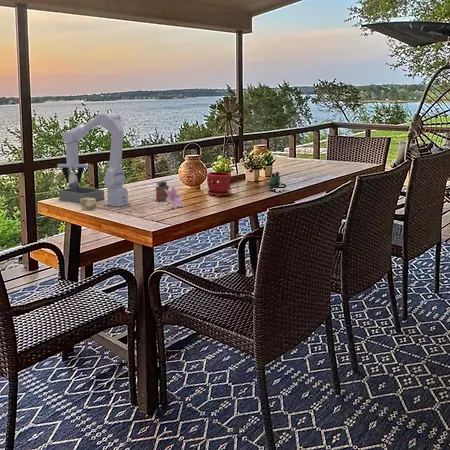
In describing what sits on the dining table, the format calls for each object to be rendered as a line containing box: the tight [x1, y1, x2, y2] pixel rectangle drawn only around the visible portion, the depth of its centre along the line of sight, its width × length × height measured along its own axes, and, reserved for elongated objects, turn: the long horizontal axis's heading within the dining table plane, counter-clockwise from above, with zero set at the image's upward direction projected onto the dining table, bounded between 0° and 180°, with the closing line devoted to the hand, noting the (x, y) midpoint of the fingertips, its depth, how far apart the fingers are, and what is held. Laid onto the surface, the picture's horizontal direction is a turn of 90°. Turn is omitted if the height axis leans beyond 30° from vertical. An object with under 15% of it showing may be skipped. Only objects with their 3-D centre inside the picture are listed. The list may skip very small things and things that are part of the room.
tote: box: [58, 186, 105, 205], centre depth 262 cm, size 18×14×5 cm
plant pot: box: [206, 171, 232, 197], centre depth 280 cm, size 13×13×12 cm
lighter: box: [155, 180, 170, 203], centre depth 263 cm, size 8×3×10 cm, turn 141°
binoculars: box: [268, 171, 287, 190], centre depth 294 cm, size 9×11×10 cm
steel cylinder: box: [67, 171, 80, 188], centre depth 261 cm, size 5×5×7 cm
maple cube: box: [80, 197, 97, 211], centre depth 243 cm, size 5×5×5 cm
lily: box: [165, 185, 185, 210], centre depth 250 cm, size 12×12×10 cm
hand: (73, 182), depth 261 cm, fingers closed on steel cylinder, 5 cm apart
